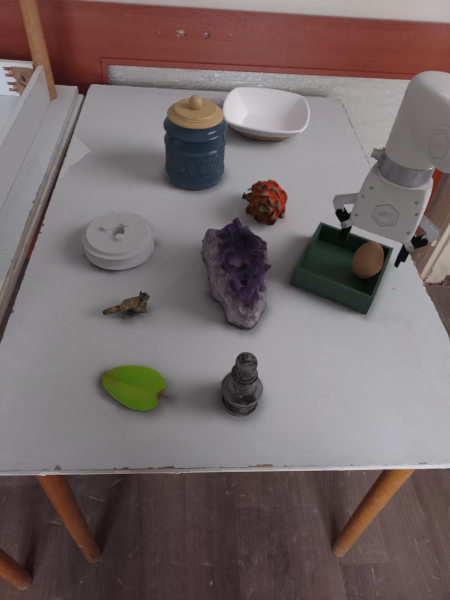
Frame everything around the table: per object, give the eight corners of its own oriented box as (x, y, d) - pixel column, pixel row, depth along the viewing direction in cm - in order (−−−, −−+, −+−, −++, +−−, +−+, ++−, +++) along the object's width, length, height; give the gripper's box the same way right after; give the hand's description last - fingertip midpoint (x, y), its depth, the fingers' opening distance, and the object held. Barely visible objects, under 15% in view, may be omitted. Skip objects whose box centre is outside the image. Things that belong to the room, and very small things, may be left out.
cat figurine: (156, 314, 74) (149, 299, 70) (109, 328, 73) (100, 314, 70) (153, 301, 75) (146, 286, 72) (107, 315, 75) (98, 301, 72)
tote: (386, 263, 85) (393, 248, 82) (366, 314, 77) (373, 299, 74) (316, 237, 89) (320, 221, 86) (289, 283, 80) (293, 267, 77)
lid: (115, 284, 78) (111, 264, 74) (71, 248, 83) (65, 227, 79) (168, 249, 84) (167, 229, 80) (125, 217, 89) (122, 197, 85)
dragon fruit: (263, 243, 89) (255, 212, 98) (301, 221, 86) (289, 191, 95) (240, 213, 84) (234, 183, 93) (280, 189, 81) (269, 160, 90)
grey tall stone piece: (234, 374, 68) (242, 327, 58) (267, 396, 66) (280, 350, 57) (211, 402, 64) (215, 357, 55) (245, 426, 62) (254, 383, 53)
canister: (212, 197, 95) (216, 118, 81) (155, 183, 97) (150, 103, 84) (231, 165, 103) (237, 88, 90) (179, 152, 105) (177, 75, 92)
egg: (375, 288, 80) (391, 257, 74) (346, 283, 80) (359, 251, 74) (375, 268, 83) (389, 236, 77) (347, 263, 84) (359, 231, 78)
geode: (288, 325, 74) (292, 288, 66) (220, 340, 74) (215, 304, 65) (258, 239, 86) (257, 199, 78) (199, 251, 85) (192, 211, 77)
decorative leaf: (128, 425, 62) (127, 423, 61) (97, 378, 66) (96, 375, 65) (175, 394, 65) (174, 392, 64) (143, 351, 69) (142, 348, 68)
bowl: (227, 102, 122) (229, 83, 118) (306, 112, 121) (310, 93, 117) (215, 144, 108) (216, 124, 104) (305, 156, 107) (309, 136, 103)
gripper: (341, 160, 65) (315, 247, 78) (464, 199, 60) (415, 284, 73) (355, 137, 69) (329, 223, 82) (471, 172, 65) (423, 257, 78)
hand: (369, 252), depth 78 cm, fingers open, 9 cm apart
